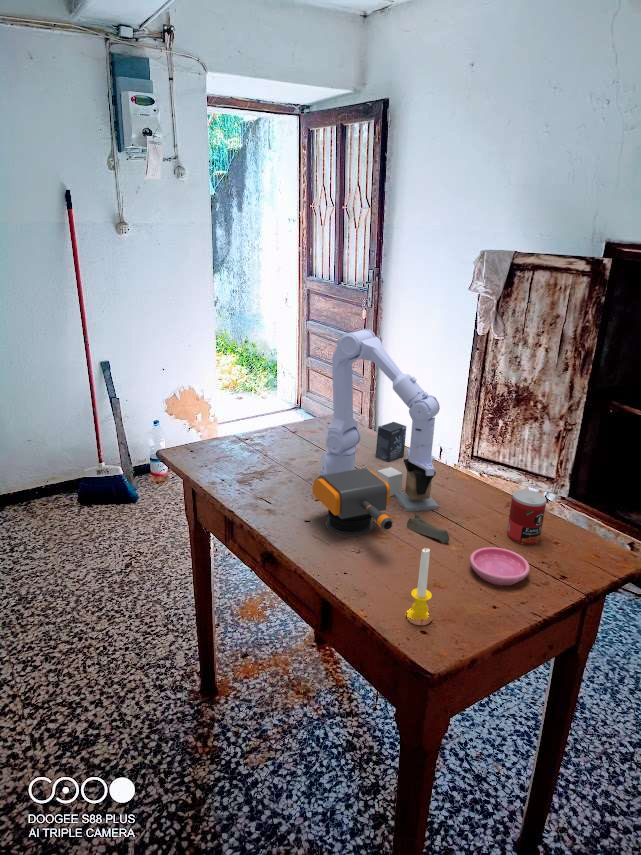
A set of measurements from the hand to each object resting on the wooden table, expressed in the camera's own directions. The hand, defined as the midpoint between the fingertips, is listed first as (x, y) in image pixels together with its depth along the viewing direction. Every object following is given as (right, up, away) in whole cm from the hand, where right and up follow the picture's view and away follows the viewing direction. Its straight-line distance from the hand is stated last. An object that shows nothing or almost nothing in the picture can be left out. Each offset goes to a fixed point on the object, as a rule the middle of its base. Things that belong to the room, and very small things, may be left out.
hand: (417, 489), depth 159 cm
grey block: (-7, -1, +7) cm, 10 cm away
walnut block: (0, -2, +1) cm, 2 cm away
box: (-4, +7, +32) cm, 33 cm away
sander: (-17, -9, -15) cm, 24 cm away
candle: (-7, -20, -45) cm, 50 cm away
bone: (+1, -10, -13) cm, 17 cm away
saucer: (+13, -16, -29) cm, 36 cm away
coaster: (0, -4, +1) cm, 4 cm away
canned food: (+23, -10, -14) cm, 29 cm away
